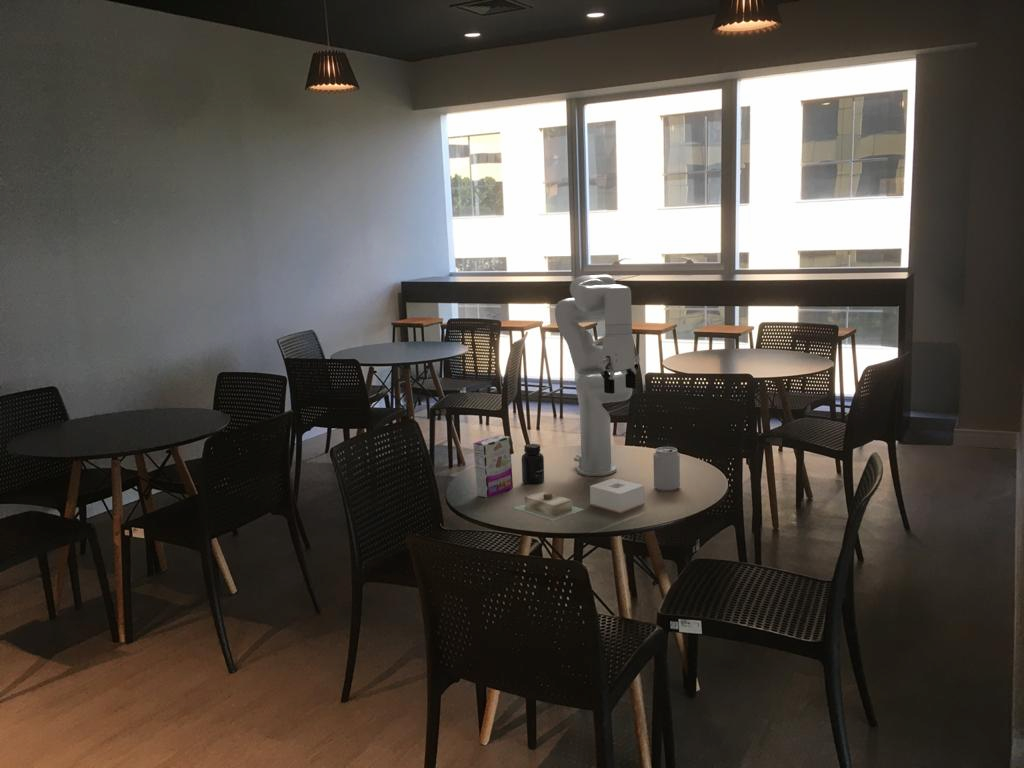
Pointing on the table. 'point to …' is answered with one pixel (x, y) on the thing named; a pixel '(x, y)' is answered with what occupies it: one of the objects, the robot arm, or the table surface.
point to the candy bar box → (493, 466)
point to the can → (666, 469)
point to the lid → (548, 503)
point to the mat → (547, 516)
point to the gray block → (617, 495)
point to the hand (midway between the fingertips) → (620, 390)
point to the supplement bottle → (532, 465)
